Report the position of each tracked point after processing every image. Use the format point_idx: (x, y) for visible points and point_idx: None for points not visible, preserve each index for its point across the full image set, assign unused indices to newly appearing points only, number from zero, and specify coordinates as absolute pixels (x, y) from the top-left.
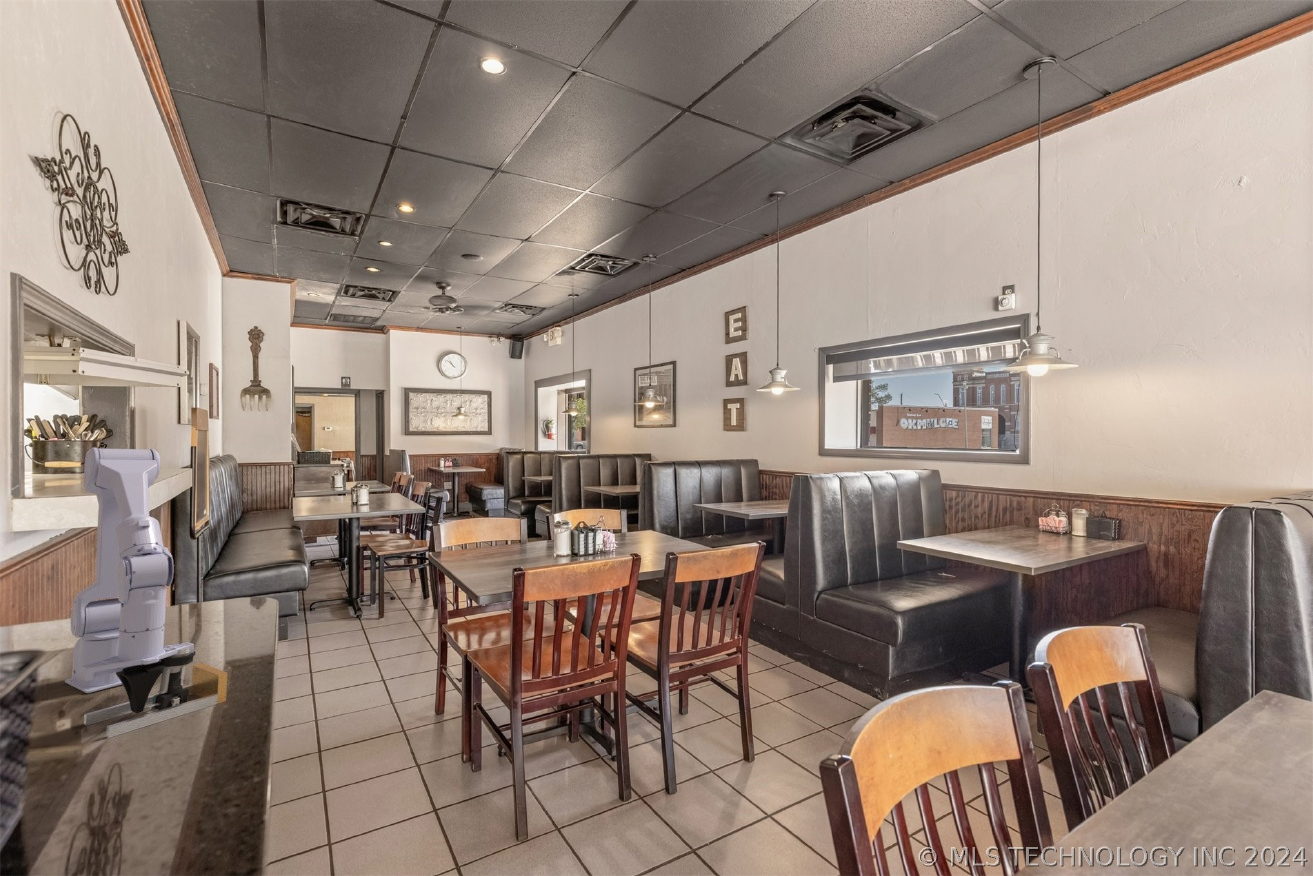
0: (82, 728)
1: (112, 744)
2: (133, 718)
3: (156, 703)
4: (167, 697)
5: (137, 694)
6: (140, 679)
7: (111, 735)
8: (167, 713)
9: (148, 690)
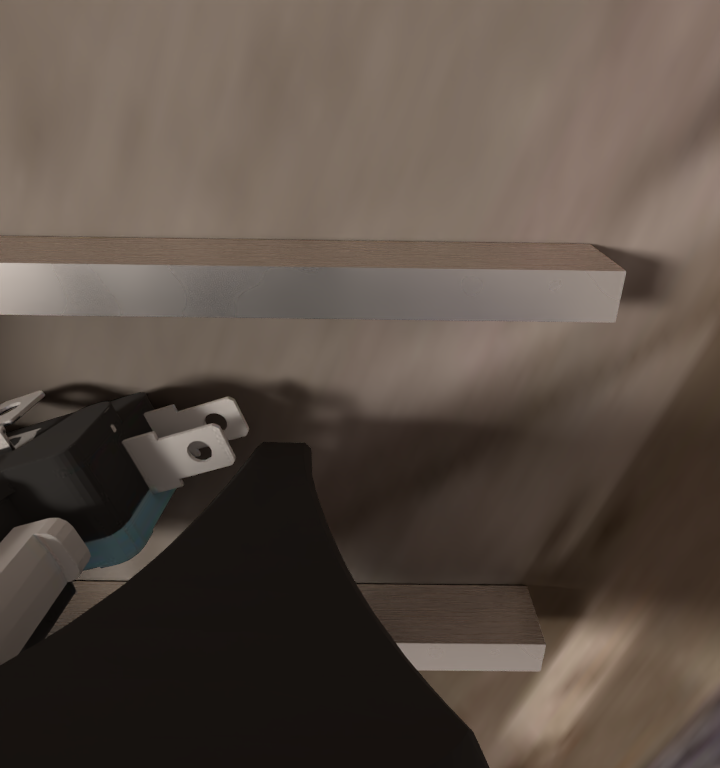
0: (558, 562)
1: (655, 63)
2: (399, 312)
3: (141, 472)
4: (39, 453)
5: (312, 547)
6: (290, 699)
7: (571, 250)
8: (118, 255)
9: (190, 550)
